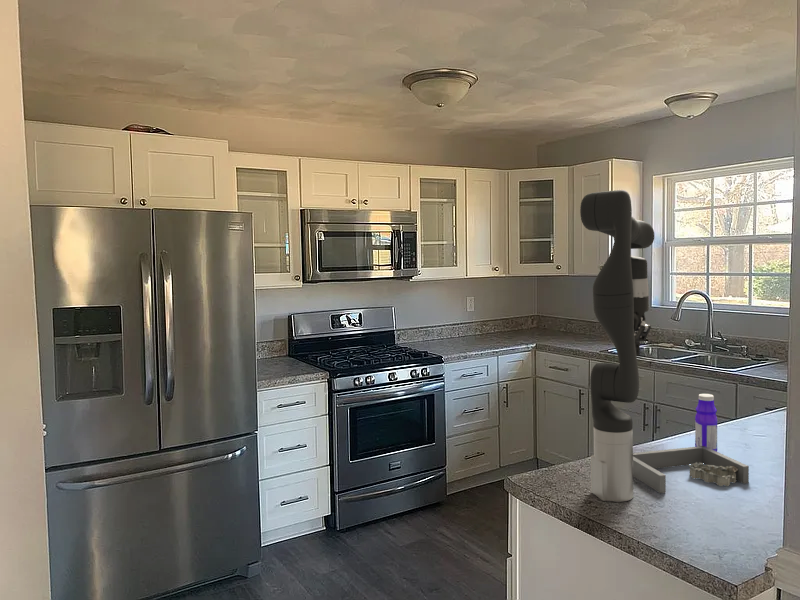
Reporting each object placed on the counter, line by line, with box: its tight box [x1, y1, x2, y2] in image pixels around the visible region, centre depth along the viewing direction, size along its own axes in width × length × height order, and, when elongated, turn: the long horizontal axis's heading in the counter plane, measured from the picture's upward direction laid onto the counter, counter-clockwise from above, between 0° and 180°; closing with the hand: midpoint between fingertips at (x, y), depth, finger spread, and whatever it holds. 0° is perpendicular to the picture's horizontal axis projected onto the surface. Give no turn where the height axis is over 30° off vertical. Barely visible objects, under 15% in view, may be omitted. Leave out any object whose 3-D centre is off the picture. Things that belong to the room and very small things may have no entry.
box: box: [633, 446, 750, 494], centre depth 166 cm, size 25×18×4 cm
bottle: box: [694, 393, 719, 452], centre depth 183 cm, size 7×6×17 cm
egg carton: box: [688, 462, 738, 487], centre depth 163 cm, size 11×8×4 cm
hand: (634, 355), depth 176 cm, fingers closed
